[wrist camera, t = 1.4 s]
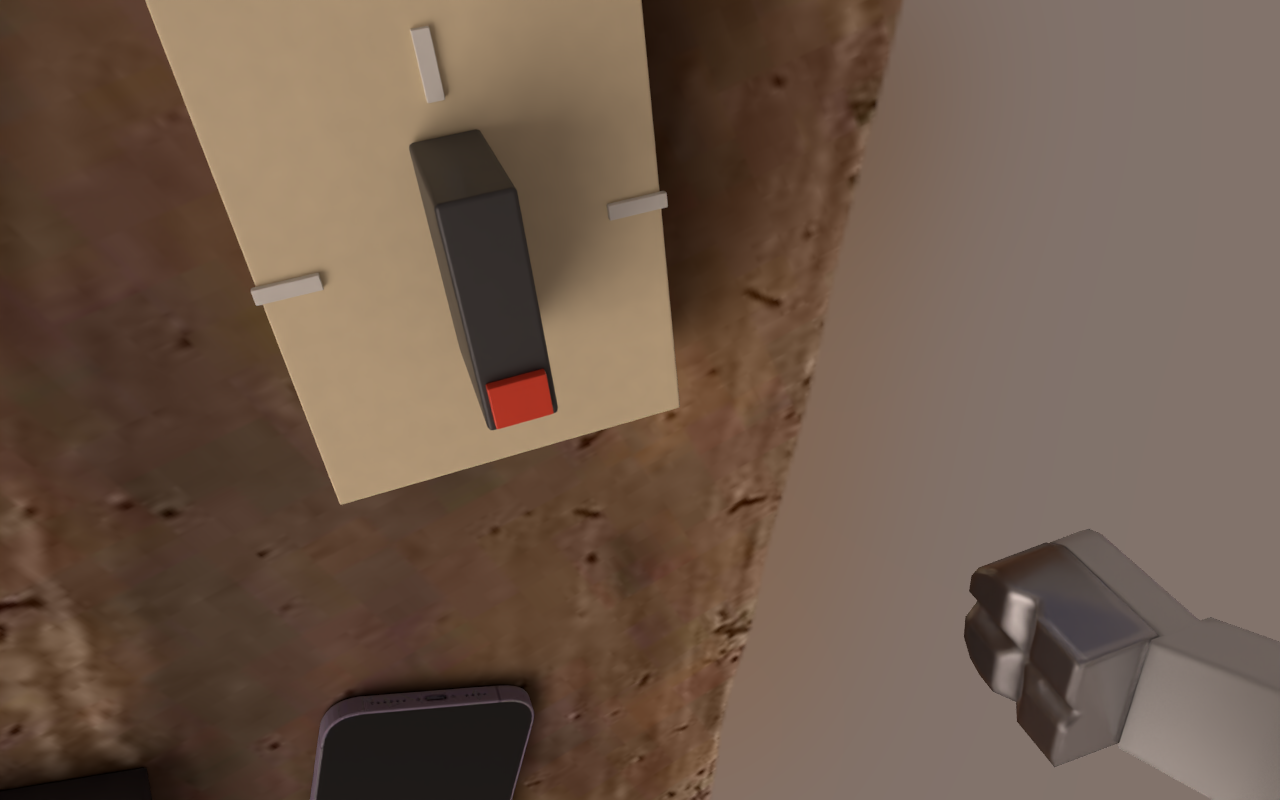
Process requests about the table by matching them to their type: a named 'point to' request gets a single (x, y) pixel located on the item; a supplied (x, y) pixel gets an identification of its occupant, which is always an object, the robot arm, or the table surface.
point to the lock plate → (395, 217)
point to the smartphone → (424, 745)
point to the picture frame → (89, 788)
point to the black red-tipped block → (486, 275)
